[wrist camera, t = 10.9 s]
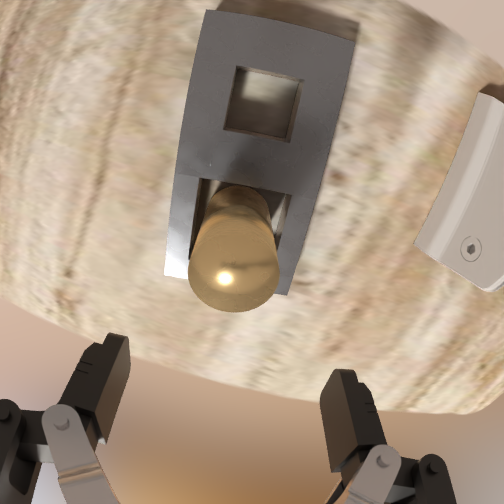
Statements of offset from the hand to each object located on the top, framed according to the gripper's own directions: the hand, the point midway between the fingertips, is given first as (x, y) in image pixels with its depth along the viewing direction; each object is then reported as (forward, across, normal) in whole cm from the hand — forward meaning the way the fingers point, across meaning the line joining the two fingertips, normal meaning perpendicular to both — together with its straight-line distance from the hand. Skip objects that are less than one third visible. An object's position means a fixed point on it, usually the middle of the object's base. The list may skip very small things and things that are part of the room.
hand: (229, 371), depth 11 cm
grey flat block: (+16, 0, -5) cm, 16 cm away
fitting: (+16, 0, 0) cm, 16 cm away
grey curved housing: (+16, -21, -8) cm, 28 cm away
